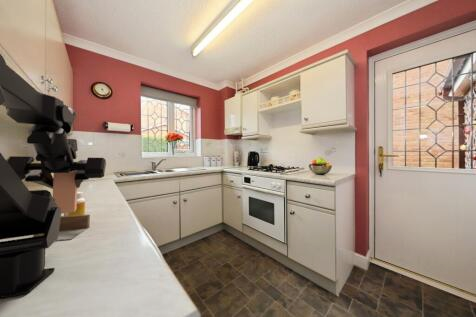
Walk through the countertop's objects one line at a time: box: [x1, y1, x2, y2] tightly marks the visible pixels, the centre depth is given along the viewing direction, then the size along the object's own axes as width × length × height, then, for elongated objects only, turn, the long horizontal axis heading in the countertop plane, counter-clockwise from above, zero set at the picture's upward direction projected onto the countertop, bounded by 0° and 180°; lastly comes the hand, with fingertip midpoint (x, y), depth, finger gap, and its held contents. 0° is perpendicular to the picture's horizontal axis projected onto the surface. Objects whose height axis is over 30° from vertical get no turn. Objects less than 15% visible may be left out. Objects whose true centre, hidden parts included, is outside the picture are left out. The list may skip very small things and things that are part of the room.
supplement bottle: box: [63, 191, 86, 216], centre depth 62 cm, size 5×5×10 cm
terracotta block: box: [52, 170, 78, 215], centre depth 50 cm, size 4×4×13 cm
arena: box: [33, 214, 91, 242], centre depth 50 cm, size 9×9×4 cm
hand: (67, 187), depth 51 cm, fingers closed on terracotta block, 5 cm apart
